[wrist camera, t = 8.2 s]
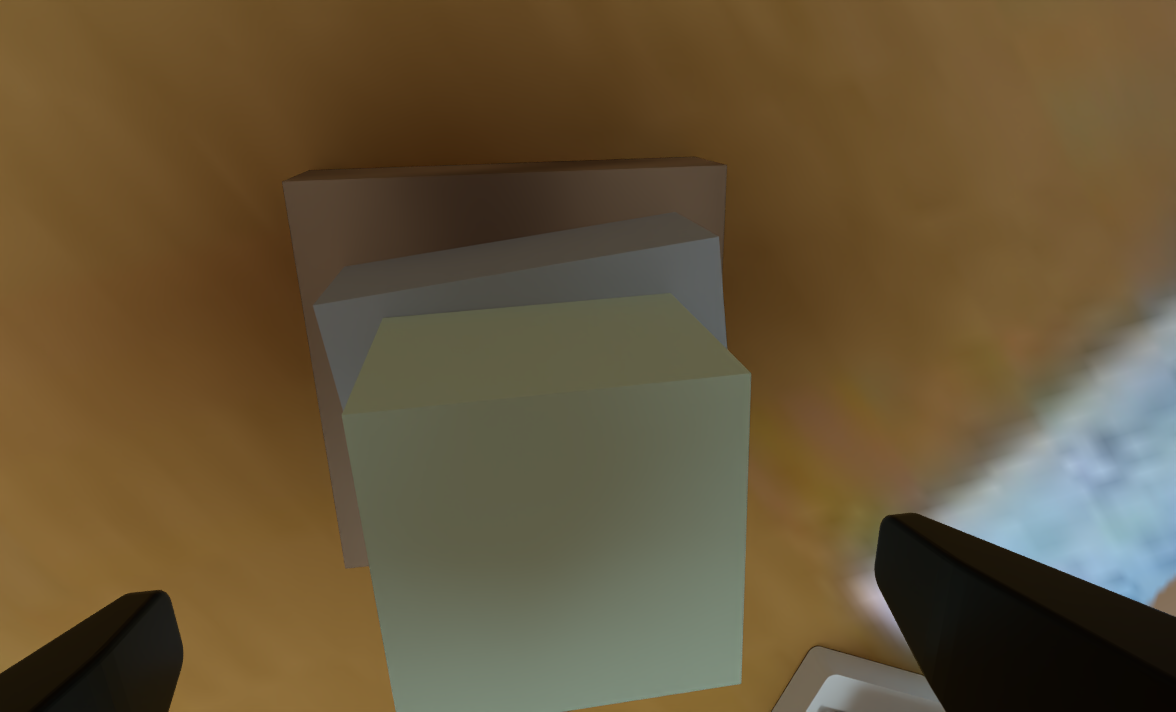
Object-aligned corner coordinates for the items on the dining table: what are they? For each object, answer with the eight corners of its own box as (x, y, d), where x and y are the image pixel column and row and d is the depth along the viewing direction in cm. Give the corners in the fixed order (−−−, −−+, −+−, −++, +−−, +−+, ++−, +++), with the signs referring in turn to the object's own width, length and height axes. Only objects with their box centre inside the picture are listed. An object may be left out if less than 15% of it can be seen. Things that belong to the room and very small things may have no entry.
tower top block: (674, 211, 15) (719, 236, 13) (702, 493, 18) (742, 566, 15) (344, 266, 15) (313, 305, 12) (419, 549, 17) (407, 637, 14)
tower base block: (688, 154, 18) (727, 165, 15) (680, 473, 21) (711, 530, 18) (314, 167, 17) (281, 181, 14) (364, 502, 20) (345, 568, 17)
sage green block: (670, 292, 13) (751, 373, 9) (672, 533, 14) (741, 683, 11) (382, 318, 12) (341, 414, 8) (420, 565, 14) (400, 737, 10)
